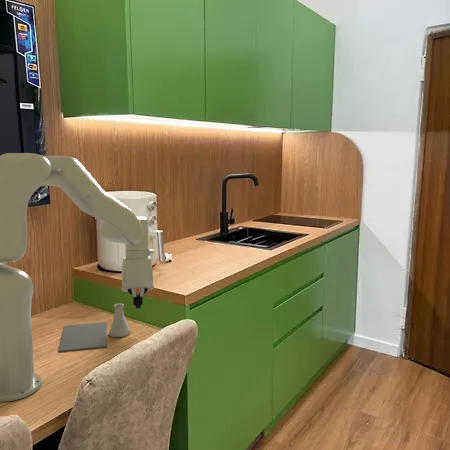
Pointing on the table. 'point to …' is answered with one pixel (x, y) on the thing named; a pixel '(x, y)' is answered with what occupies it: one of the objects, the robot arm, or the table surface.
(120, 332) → the flask
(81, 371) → the table surface
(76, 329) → the mat
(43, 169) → the robot arm
